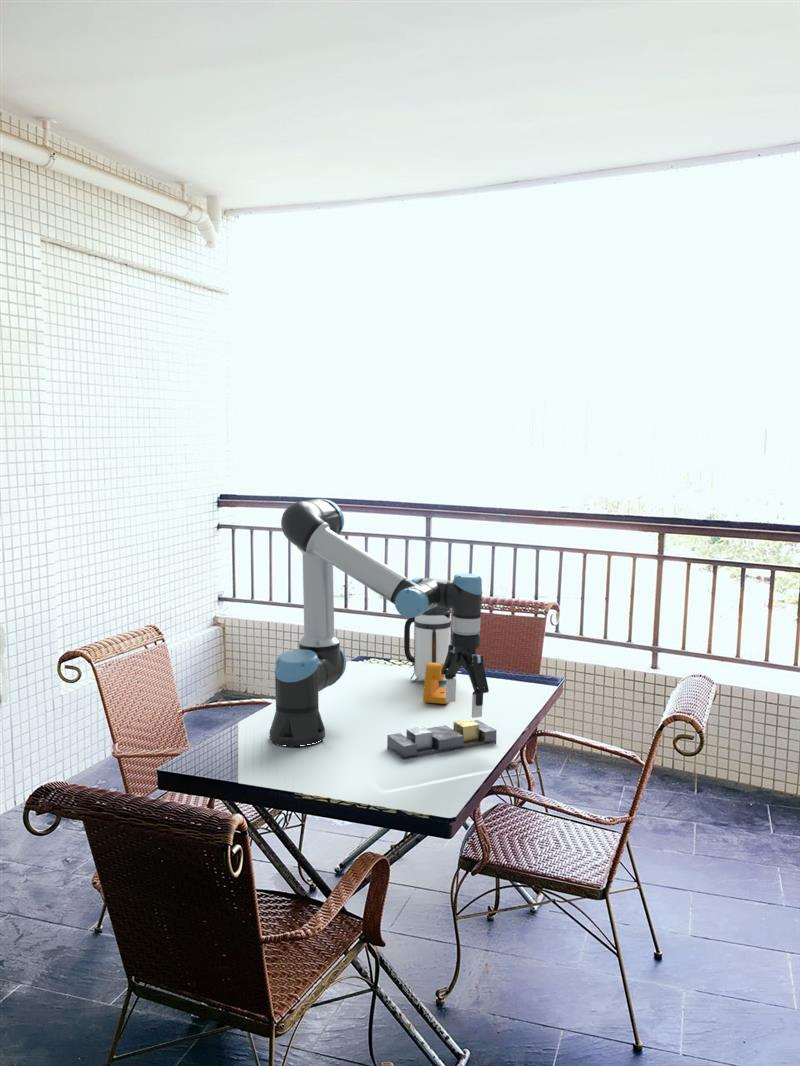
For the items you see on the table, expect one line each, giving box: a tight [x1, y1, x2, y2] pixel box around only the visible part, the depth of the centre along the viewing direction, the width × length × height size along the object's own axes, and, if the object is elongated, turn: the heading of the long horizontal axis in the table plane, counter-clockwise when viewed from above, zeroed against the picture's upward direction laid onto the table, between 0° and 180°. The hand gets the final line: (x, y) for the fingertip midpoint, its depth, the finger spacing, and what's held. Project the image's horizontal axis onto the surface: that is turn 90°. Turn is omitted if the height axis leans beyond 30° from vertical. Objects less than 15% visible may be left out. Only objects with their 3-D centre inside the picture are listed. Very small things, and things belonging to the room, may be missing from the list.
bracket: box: [422, 662, 449, 705], centre depth 271 cm, size 11×7×12 cm, turn 162°
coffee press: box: [403, 607, 455, 682], centre depth 292 cm, size 17×16×30 cm
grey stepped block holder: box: [386, 719, 498, 760], centre depth 230 cm, size 28×10×4 cm, turn 117°
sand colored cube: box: [452, 718, 479, 743], centre depth 233 cm, size 5×5×5 cm
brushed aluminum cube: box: [405, 726, 432, 752], centre depth 226 cm, size 5×5×5 cm
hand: (463, 709), depth 232 cm, fingers open, 13 cm apart
